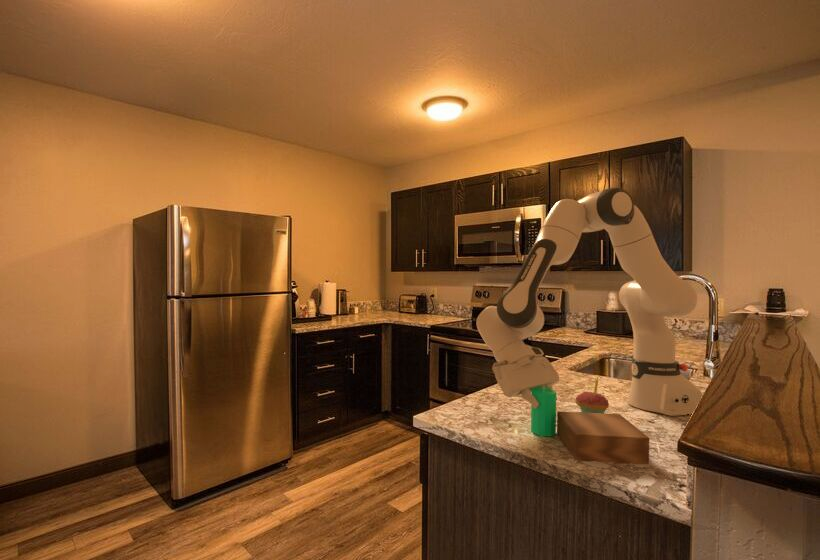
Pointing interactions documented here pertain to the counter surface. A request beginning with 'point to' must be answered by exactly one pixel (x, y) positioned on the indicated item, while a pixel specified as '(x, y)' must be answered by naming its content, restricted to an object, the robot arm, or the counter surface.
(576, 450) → the walnut block
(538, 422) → the candle
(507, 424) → the counter surface
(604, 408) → the cupcake
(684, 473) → the counter surface
